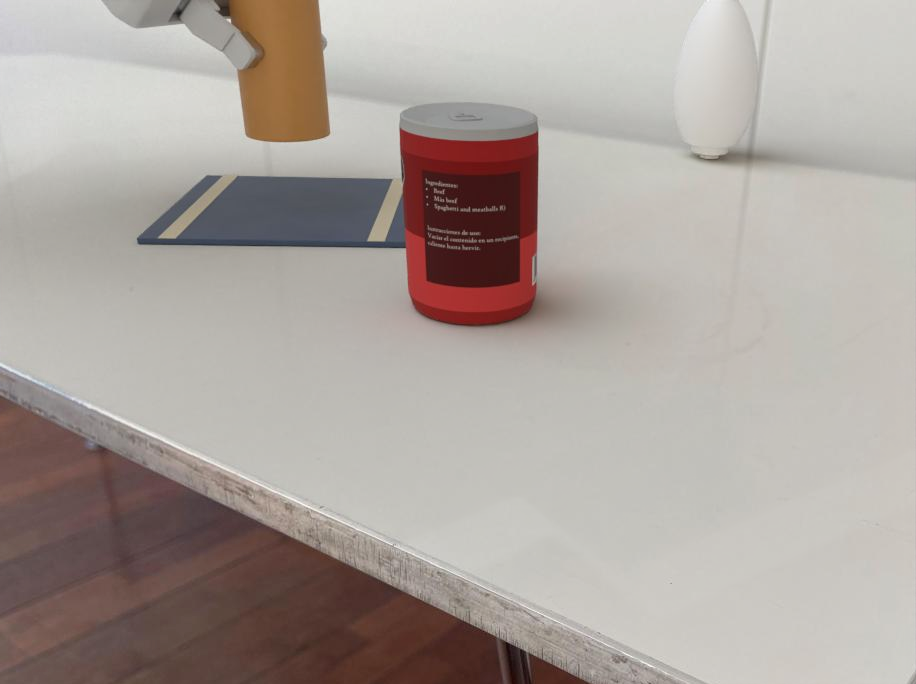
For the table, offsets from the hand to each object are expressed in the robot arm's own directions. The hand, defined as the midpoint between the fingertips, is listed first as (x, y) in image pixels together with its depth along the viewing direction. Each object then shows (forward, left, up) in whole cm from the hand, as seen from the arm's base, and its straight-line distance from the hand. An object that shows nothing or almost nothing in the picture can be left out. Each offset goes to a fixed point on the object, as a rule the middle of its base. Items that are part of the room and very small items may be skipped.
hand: (287, 57), depth 71 cm
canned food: (+13, -19, -11) cm, 26 cm away
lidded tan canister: (-1, 0, -5) cm, 5 cm away
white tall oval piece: (+35, +23, -11) cm, 44 cm away
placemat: (-1, +1, -11) cm, 11 cm away
